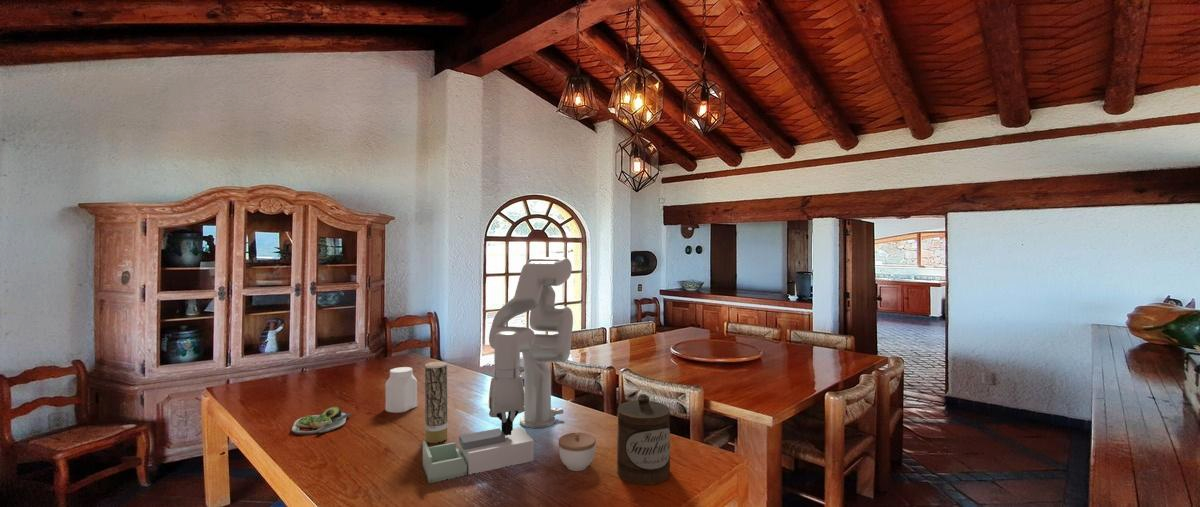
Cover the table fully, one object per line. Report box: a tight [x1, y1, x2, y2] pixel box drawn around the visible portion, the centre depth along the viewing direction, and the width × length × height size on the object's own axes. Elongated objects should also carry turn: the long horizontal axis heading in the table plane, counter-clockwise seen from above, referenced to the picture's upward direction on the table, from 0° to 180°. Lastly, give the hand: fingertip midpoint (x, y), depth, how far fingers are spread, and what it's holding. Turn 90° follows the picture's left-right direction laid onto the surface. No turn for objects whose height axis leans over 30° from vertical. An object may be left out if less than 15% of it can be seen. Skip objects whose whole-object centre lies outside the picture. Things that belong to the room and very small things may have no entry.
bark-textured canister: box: [424, 361, 448, 444], centre depth 157 cm, size 7×7×25 cm
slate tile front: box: [458, 431, 485, 450], centre depth 140 cm, size 6×6×2 cm
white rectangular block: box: [459, 426, 535, 475], centre depth 143 cm, size 19×12×6 cm, turn 118°
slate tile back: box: [479, 427, 505, 446], centre depth 143 cm, size 6×6×2 cm
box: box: [422, 440, 468, 484], centre depth 136 cm, size 10×12×7 cm
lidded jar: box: [558, 432, 597, 472], centre depth 139 cm, size 11×11×9 cm
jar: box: [384, 366, 418, 414], centre depth 189 cm, size 12×10×15 cm
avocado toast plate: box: [291, 406, 352, 436], centre depth 169 cm, size 19×18×5 cm
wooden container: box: [616, 393, 671, 486], centre depth 135 cm, size 15×15×22 cm
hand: (507, 433), depth 145 cm, fingers closed
